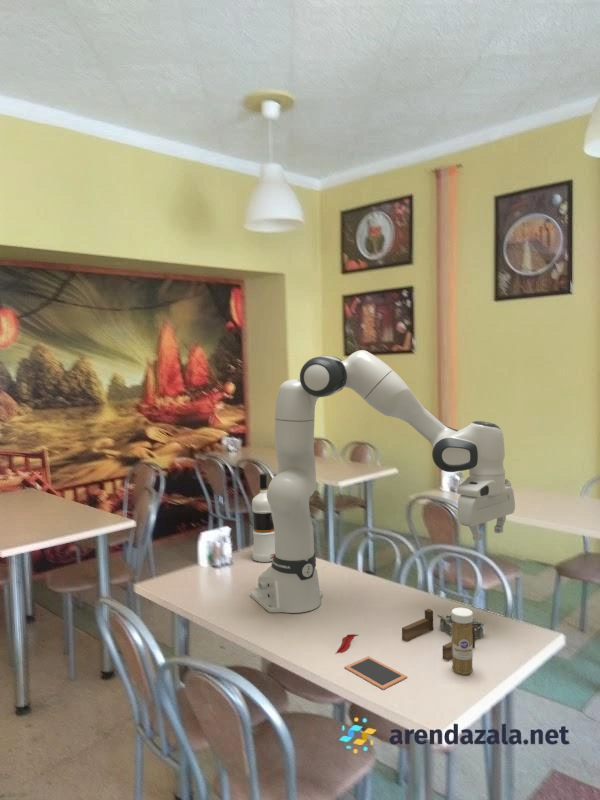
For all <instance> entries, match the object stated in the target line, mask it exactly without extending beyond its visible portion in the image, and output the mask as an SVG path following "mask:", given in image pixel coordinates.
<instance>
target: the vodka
mask: <svg viewBox="0 0 600 800" xmlns="http://www.w3.org/2000/svg"><path fill="white" fill-rule="evenodd" d="M267 490H268V475H267V474H266V473H260V474H259V493H257V494H256V495H255V496H254V497H253V498H252V500H251V507H252V509H251V510H252V526H253V529H252V534H253V547H252V554H251V557H252V559H253V560H254V561H255V562H257V561H258V563H272V562H271V561H273V558H271V559H270V557H272V556H274V555H272V554H275V534H274V524H273V519H272V514H271V509H270V504H269V503H268V500H267ZM270 555H272V556H270Z"/></svg>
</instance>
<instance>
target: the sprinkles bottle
mask: <svg viewBox="0 0 600 800" xmlns="http://www.w3.org/2000/svg"><path fill="white" fill-rule="evenodd" d="M450 615H451V618H452V636H451V642H452V655H453V659H452V665H451V670H452V671H453V672H454V673H456V674H459V675H462V676H463V675H465V676H466V675H470V674H472V672H473V671H474V669H473V656H474V655H473V654H474V653H473V652H474V651H473V649H474V648H473V634H472V621H473V619H474V613H473V611H472V610H470V608H466V607H454V608H452V610H451V614H450Z"/></svg>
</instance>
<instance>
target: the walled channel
mask: <svg viewBox="0 0 600 800" xmlns="http://www.w3.org/2000/svg"><path fill="white" fill-rule="evenodd" d="M431 631H434V610H432V609H430V608H427V609H425V610H424V618H422V619H419V620H417V621H414V622H411V623H409V624H407V625H405V626H402V627H401V639H402V641H404V642H408V641H412V640H414V639H416V638H418V637H421V636H422V635H425V634H428V633H429V632H431ZM472 634H473V649H474V648H475V647H476V645H475V644H476V642H475V641H476V638H475V627H474V626H472ZM442 659H443V660H445V661H447V662H448V661H451V660H453V655H452V641H450V642H448V643H445V644H444V645H442Z"/></svg>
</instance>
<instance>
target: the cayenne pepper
mask: <svg viewBox="0 0 600 800" xmlns="http://www.w3.org/2000/svg"><path fill="white" fill-rule="evenodd" d="M358 636H360V635H359V634H353V633H352V634H346V636H344V637H343V638H342V640H341V645H340V646H339V648H337V651H336V652H335V653H334V655H335V654H342V653H345V652H347V651H348V650H349V649H350V646H351V643H352V641H353V639H354V638H355V637H358Z"/></svg>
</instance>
